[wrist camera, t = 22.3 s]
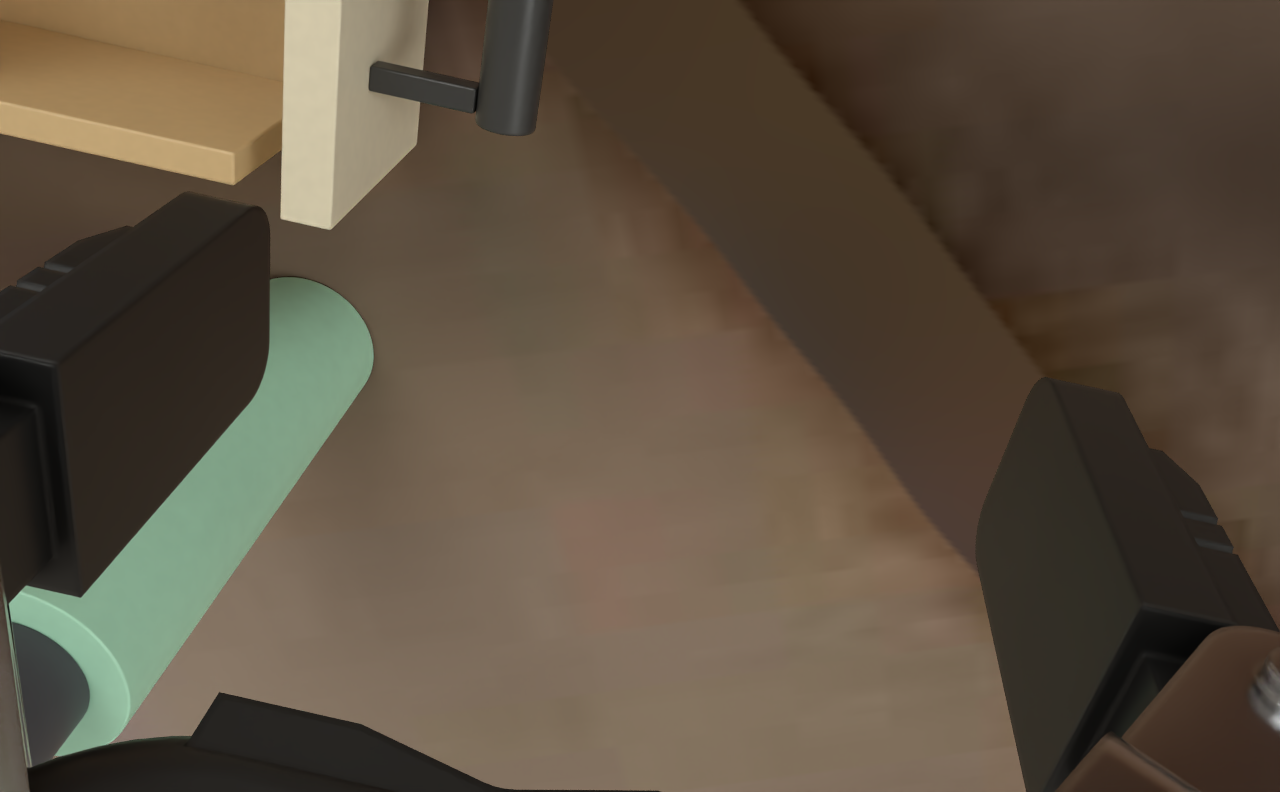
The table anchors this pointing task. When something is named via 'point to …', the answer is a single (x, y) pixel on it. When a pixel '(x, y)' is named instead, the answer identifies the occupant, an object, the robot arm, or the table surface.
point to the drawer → (257, 86)
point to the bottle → (189, 534)
